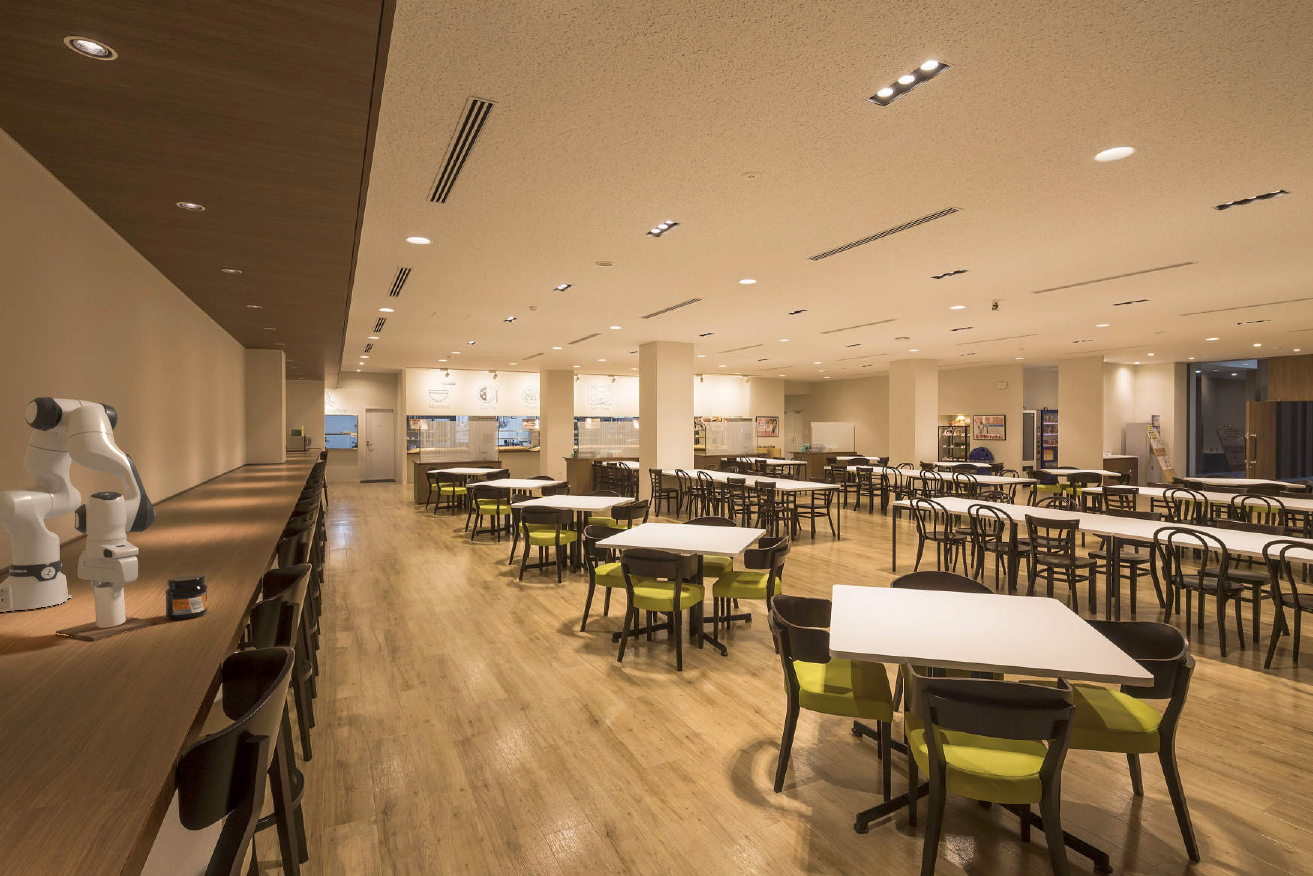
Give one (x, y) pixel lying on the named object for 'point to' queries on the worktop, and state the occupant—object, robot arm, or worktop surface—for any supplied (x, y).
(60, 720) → the worktop surface
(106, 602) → the can
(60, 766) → the worktop surface
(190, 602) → the supplement container
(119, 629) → the walnut board
